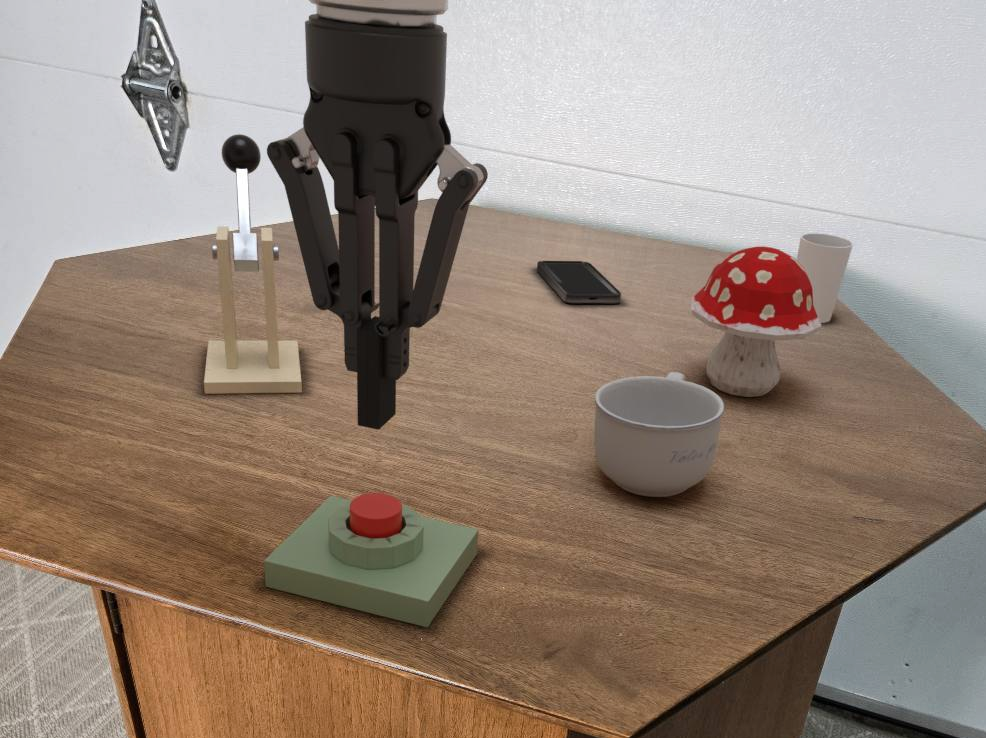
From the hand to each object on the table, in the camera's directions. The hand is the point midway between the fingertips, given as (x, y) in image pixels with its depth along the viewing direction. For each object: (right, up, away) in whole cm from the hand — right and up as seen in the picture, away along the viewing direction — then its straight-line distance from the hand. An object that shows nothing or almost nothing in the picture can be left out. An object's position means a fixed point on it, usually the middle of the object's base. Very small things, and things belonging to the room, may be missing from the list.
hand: (376, 419), depth 64 cm
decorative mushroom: (+33, +9, +43) cm, 55 cm away
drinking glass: (+47, +22, +67) cm, 84 cm away
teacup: (+21, -2, +23) cm, 31 cm away
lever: (-18, +24, +31) cm, 43 cm away
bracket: (-18, +9, +35) cm, 40 cm away
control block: (-1, -10, +6) cm, 12 cm away
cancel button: (-1, -7, +4) cm, 8 cm away
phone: (+16, +26, +68) cm, 75 cm away
